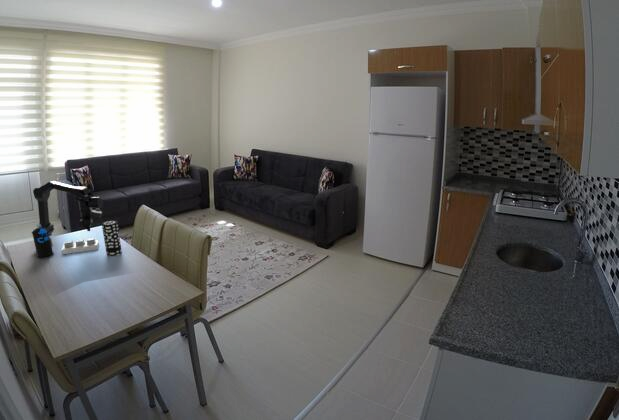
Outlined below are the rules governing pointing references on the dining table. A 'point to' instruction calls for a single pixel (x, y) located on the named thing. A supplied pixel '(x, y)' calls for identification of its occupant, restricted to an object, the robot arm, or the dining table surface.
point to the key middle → (80, 242)
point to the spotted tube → (111, 238)
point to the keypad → (80, 248)
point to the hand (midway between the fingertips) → (89, 231)
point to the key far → (90, 241)
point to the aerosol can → (42, 242)
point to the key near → (68, 244)
